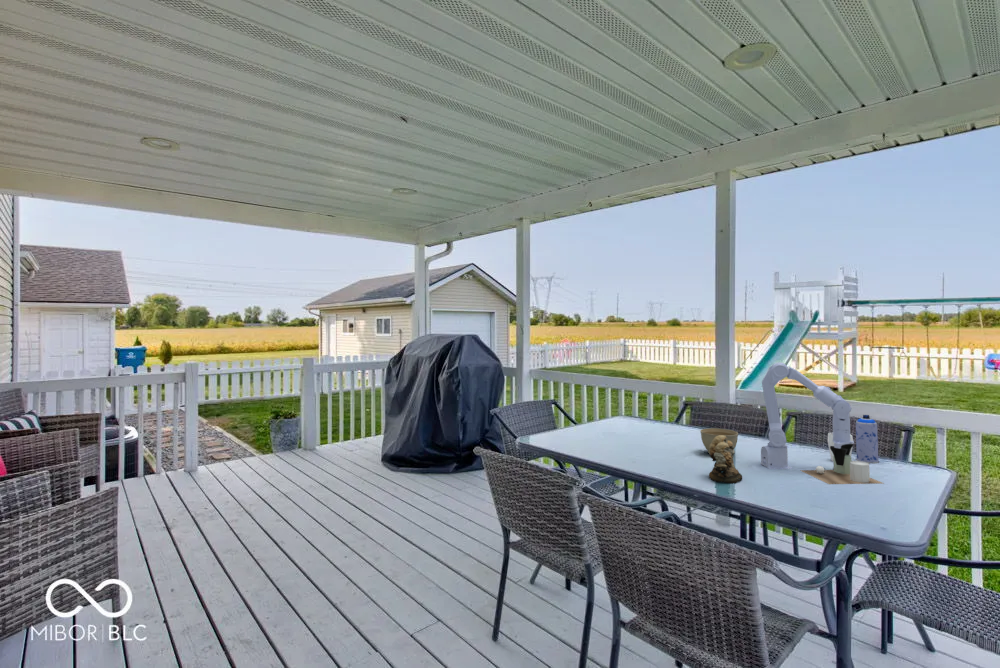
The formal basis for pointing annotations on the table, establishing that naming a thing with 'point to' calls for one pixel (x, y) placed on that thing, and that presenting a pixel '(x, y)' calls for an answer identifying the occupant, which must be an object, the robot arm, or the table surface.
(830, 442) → the cup
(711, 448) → the owl figurine
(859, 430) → the aerosol can
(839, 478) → the walnut board
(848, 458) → the sage green acorn nut
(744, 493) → the table surface
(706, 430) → the planter bowl
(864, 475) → the white acorn nut
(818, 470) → the white marble
